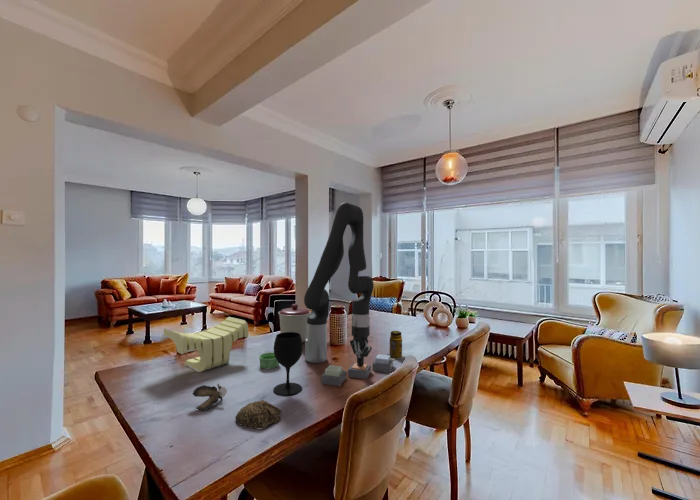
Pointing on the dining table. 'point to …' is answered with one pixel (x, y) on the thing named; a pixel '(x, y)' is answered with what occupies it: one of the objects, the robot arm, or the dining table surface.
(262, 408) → the brown low domed lump
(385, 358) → the dusty blue button
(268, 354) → the ramekin
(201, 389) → the eagle figurine
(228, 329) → the slatted curved stool
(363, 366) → the terracotta button
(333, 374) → the sage green button
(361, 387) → the dining table surface
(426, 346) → the dining table surface
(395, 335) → the condiment
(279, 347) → the wine glass
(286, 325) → the canister
